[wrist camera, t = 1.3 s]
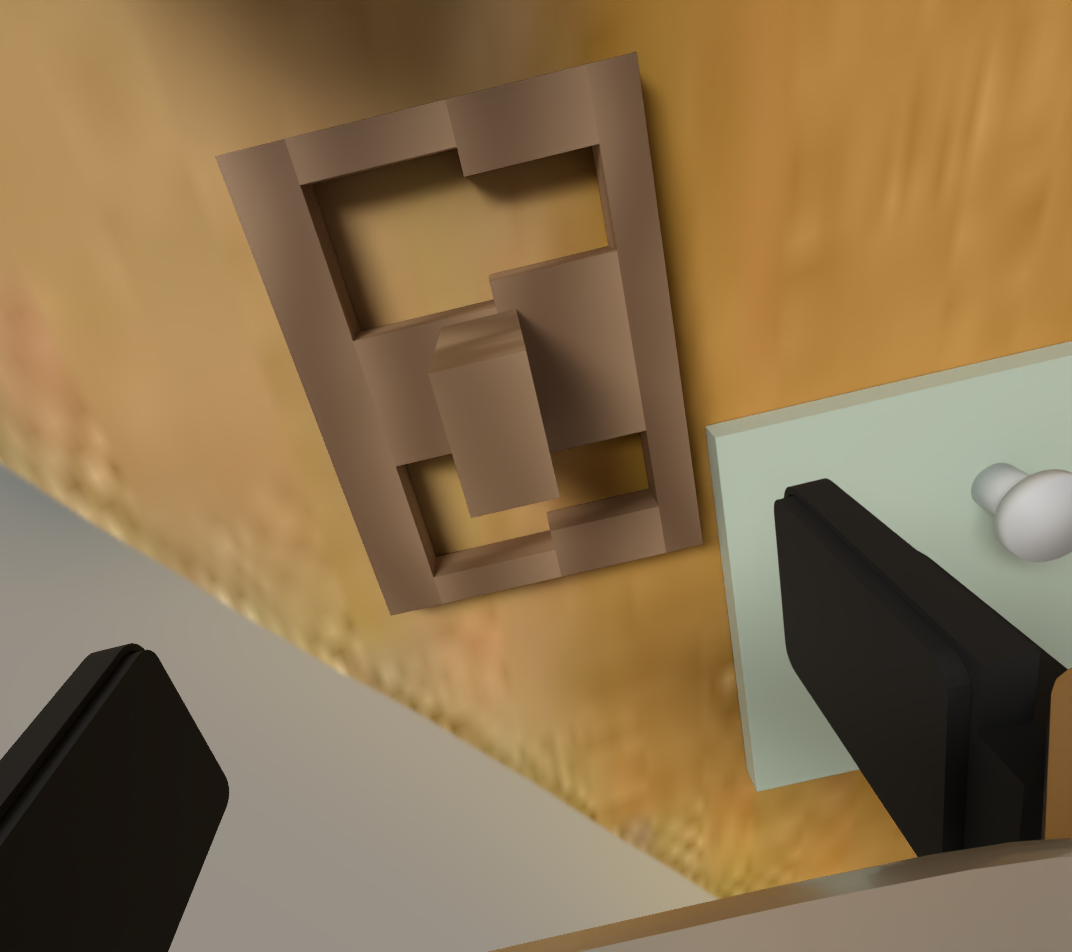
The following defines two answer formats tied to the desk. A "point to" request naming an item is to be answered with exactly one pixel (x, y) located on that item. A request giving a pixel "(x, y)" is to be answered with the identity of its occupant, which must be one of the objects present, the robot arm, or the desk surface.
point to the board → (899, 519)
